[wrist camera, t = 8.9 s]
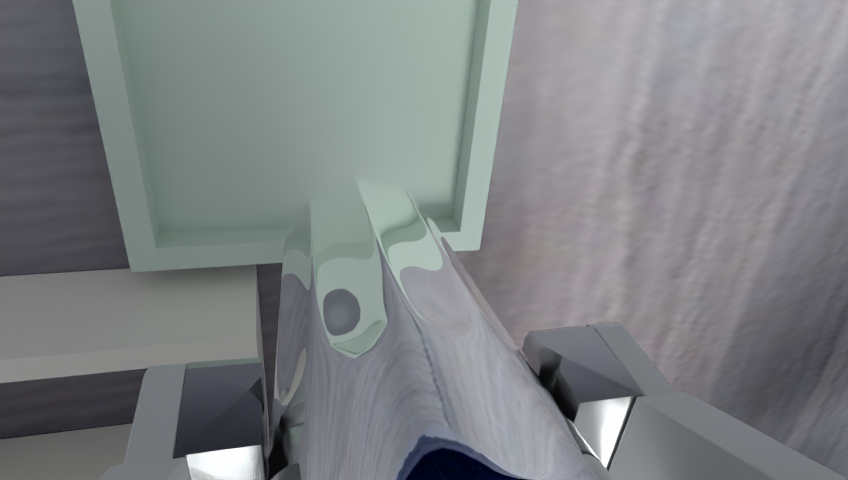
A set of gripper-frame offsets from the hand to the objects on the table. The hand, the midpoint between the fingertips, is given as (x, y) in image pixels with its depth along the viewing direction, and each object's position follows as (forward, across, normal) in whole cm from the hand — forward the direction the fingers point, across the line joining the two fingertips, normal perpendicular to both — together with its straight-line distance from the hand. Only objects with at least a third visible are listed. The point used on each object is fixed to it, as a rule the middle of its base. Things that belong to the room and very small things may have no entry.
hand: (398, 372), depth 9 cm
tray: (+15, 0, 0) cm, 16 cm away
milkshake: (+4, 0, 0) cm, 5 cm away
